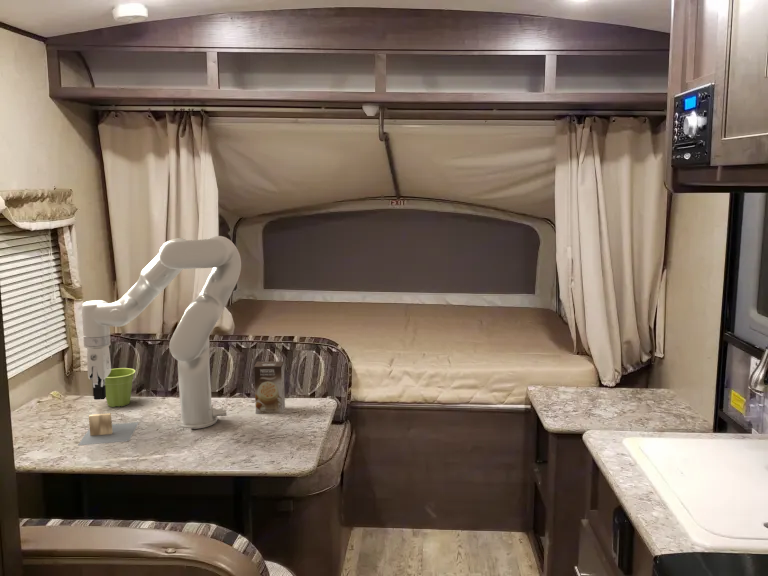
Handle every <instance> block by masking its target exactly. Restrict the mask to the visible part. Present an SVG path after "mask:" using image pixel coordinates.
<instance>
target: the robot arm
mask: <svg viewBox="0 0 768 576" xmlns="http://www.w3.org/2000/svg"><path fill="white" fill-rule="evenodd" d="M210 268H211V270H210V273H209V274H208V276H207V278H206V281H205V283H204V284H203V287H202V289H201V290H200V291H199V294H198V295H197V297H195V299H193V300H192V301H191V302H190V303H189V304H188V306H187V307H186V309H185V310H184V312H183V314H182V316H181V319H180V321H178V324H177V326H176V328H175V330H174V332H173V334H172V336H171V338H170V341H169V345H168V348H169V352H170V355H171V356H172V357H173V358H174V359H175V360H176V361H177V377H178V379H177V380H178V391H179V392H178V394H179V407H180V417H178V418H177V419H176V421H175V425H176V426H177V427H180V428H183V429H191V430H197V429H204V428H207V427H211V426H212V425H215V424H216V423H217V422H218V417H226V416H227V413H228V412H227V409H224V408H215V407H214V404H212V390H211V387H212V386H211V375H210V374H211V370H210V369H211V367H210V335H211V334H212V331H213V330H214V329H215V326H216V325H217V323H218V322H219V320H220V319H221V318H222V315H223V312H224V310H225V307H226V306H227V303H228V302H229V299H230V297H231V295H232V294H233V291H234V289H235V288H236V285H237V283H238V280H239V278H240V275H241V270H242V259H241V254H240V252H239V249H238V248H237V247H236V245H235V244H234V243H233V241H232V240H231V239H229V238H227V237H226V236H222V235H217V236H212V237H210V238H204V239H203V238H202V239H189V240H187V239H186V238H183V237H182V238H181V237H180V238H179V237H177V238H173V239H170V240H167V241H166V242H164V243H163V244H162V246H161V247H160V248H159V252H158V253H157V255H155V257H154V258H153V259H151V261H150V262H148V264H146V266H145V267H144V268H142V270H141V271H140V273H139V278H138V279H137V281H136V282H135V284H134V285H132V286H131V288H130V289H128V291H127V292H126V293H125V294H124V295H123V296H122V297H121V298H119V299H118V300H116V301H113V302H109V303H108V301H105V300H102V299H97V300H96V299H93V300H92V299H91V300H87V301H85V302H83V303H82V306H81V316H82V334H83V335H82V337H83V338H82V339H83V347H84V348H86V349H87V350H86V352H87V353H86V361H87V362H86V363H87V367H86V368H87V378H88V379H89V380H91V381H92V388H93V389H92V391H93V400H106V386H105V378H106V377H107V376H108V375H109V374H110V372H111V369H112V363H111V353H110V352H111V351H110V346H111V330H110V329H111V327H116V328H121V327H123V326H126V325H128V324H129V323H130V322H132V321H133V320H135V319H137V318H138V316H140V314H142V312H143V311H144V310H146V309H147V307H148V306H149V305H150V304H151V303H152V302H153V301H154V300H155V299H156V298H157V296H159V295H160V294H162V292H163V291H164V290H165V288H167V287H168V286H169V285H170V284H171V282H173V280H175V278H176V277H177V276H178V275H179V274H180V273H181V272H182V271H183V270H195V269H210Z"/></svg>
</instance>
